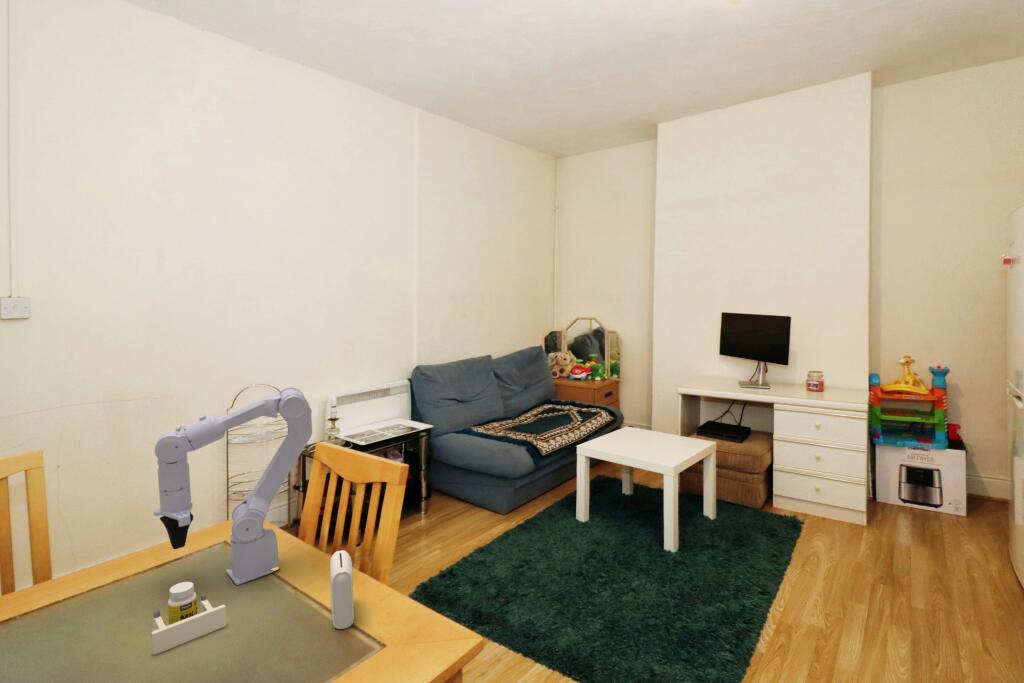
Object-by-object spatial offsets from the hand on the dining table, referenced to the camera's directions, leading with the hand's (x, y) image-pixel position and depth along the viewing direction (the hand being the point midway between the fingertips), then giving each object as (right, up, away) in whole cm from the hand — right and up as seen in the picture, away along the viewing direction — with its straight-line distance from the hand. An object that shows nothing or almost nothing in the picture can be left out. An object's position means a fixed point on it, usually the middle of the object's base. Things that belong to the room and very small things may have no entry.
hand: (178, 547), depth 116 cm
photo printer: (+39, -11, -9) cm, 41 cm away
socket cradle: (+10, -11, -13) cm, 20 cm away
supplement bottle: (+9, -11, -13) cm, 19 cm away
